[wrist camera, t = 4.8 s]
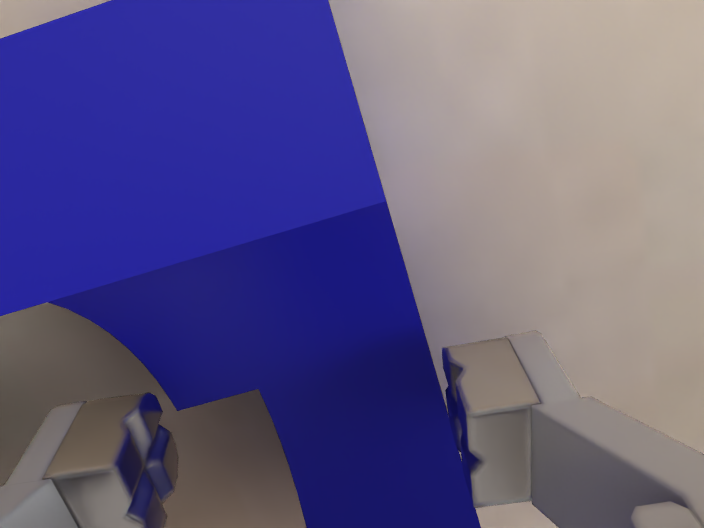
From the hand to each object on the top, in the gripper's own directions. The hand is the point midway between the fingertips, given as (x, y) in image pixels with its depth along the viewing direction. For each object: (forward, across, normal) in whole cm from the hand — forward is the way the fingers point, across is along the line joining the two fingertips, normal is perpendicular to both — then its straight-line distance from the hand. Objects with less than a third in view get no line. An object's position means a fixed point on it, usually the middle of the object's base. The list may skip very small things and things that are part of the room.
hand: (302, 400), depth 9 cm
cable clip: (+2, 0, 0) cm, 2 cm away
